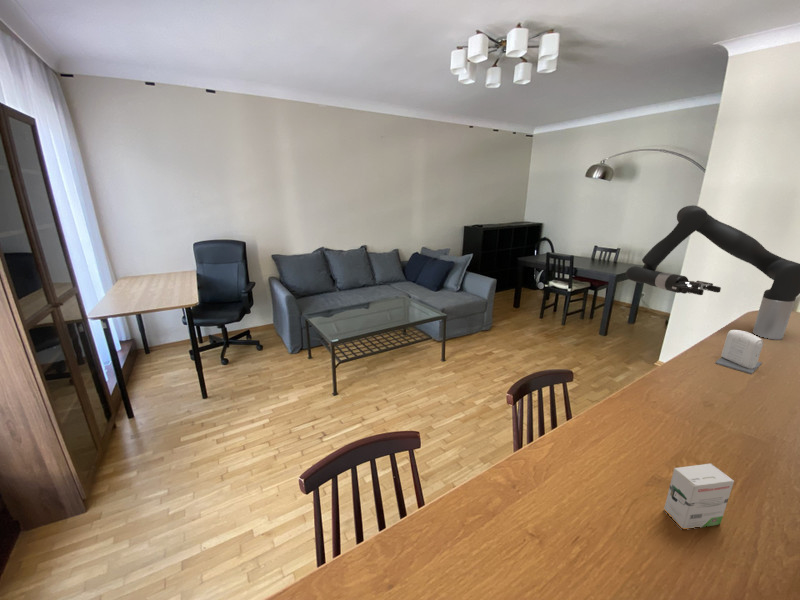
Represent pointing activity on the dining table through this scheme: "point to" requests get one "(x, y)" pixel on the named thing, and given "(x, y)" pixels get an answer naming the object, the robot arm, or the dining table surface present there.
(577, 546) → the dining table surface
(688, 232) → the robot arm
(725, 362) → the rubber mat
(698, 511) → the ink box
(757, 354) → the photo printer
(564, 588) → the dining table surface
